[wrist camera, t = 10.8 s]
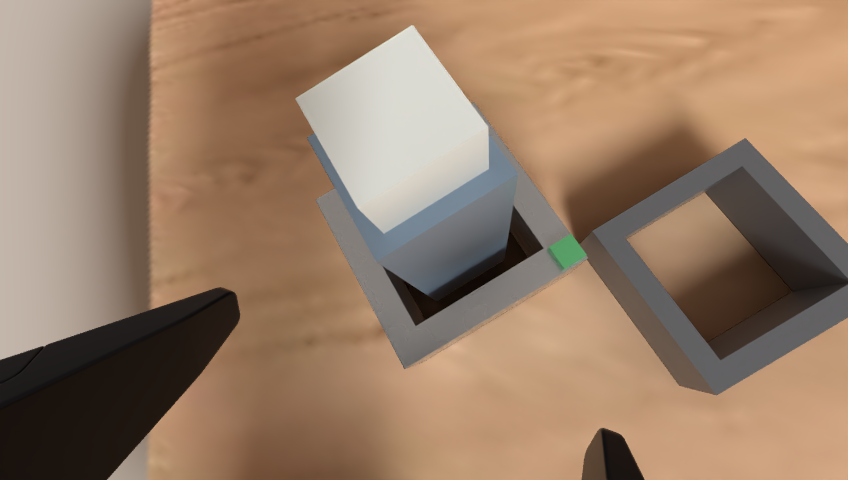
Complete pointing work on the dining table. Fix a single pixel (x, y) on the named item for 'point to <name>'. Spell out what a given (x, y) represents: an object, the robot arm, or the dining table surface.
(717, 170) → the frame
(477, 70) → the dining table surface
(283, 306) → the dining table surface
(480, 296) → the socket block
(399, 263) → the plug
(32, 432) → the robot arm
